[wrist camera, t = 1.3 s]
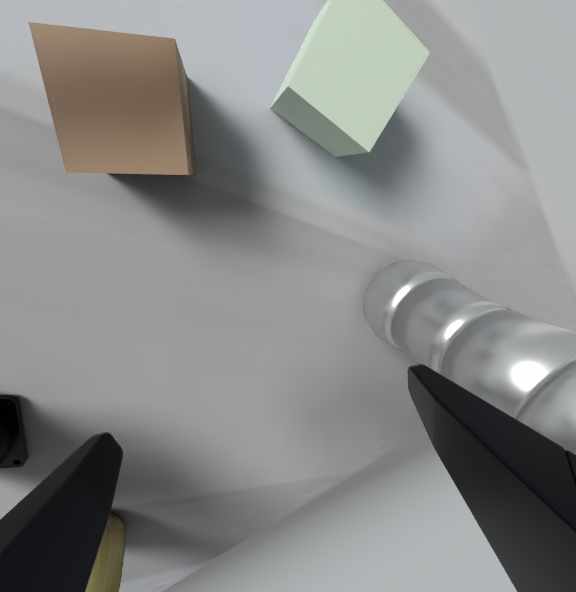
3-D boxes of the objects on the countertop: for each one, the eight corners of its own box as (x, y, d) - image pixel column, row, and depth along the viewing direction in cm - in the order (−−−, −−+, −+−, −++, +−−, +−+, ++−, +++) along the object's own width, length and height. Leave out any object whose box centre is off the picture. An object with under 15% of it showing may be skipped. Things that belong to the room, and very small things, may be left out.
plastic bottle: (338, 293, 23) (754, 704, 5) (404, 235, 23) (1144, 477, 5) (379, 340, 26) (745, 716, 8) (439, 289, 25) (987, 576, 7)
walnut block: (196, 174, 18) (188, 175, 13) (106, 173, 17) (66, 172, 12) (187, 76, 16) (174, 38, 12) (85, 67, 15) (28, 22, 10)
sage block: (334, 157, 19) (369, 152, 15) (269, 108, 17) (288, 86, 13) (377, 82, 18) (430, 52, 14) (313, 21, 16) (350, -36, 12)
